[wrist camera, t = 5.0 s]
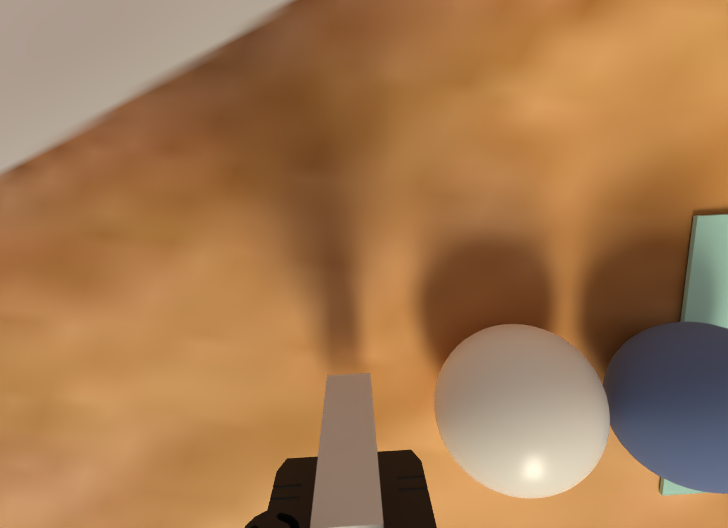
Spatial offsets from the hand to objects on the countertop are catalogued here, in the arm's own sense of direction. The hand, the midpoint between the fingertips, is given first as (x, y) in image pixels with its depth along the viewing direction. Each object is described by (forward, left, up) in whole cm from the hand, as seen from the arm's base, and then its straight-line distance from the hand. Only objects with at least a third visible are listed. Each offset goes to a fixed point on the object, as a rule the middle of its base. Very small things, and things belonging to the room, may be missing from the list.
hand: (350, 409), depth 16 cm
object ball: (+12, 0, +1) cm, 12 cm away
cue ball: (+6, 0, +1) cm, 6 cm away
